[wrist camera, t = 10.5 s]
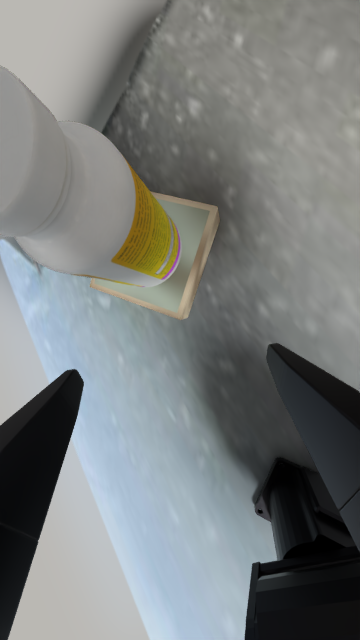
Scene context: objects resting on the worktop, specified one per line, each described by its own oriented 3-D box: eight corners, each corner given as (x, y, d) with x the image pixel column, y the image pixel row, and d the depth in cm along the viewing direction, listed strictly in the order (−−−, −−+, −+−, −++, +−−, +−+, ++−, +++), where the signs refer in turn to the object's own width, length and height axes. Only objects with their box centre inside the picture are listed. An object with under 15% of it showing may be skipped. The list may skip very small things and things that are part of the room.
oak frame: (187, 317, 21) (180, 320, 18) (107, 289, 23) (89, 286, 20) (219, 220, 20) (217, 205, 17) (130, 199, 22) (114, 183, 19)
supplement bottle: (173, 201, 18) (28, -41, 5) (192, 276, 18) (92, 208, 5) (108, 229, 19) (-113, 96, 7) (125, 296, 19) (-65, 282, 7)
